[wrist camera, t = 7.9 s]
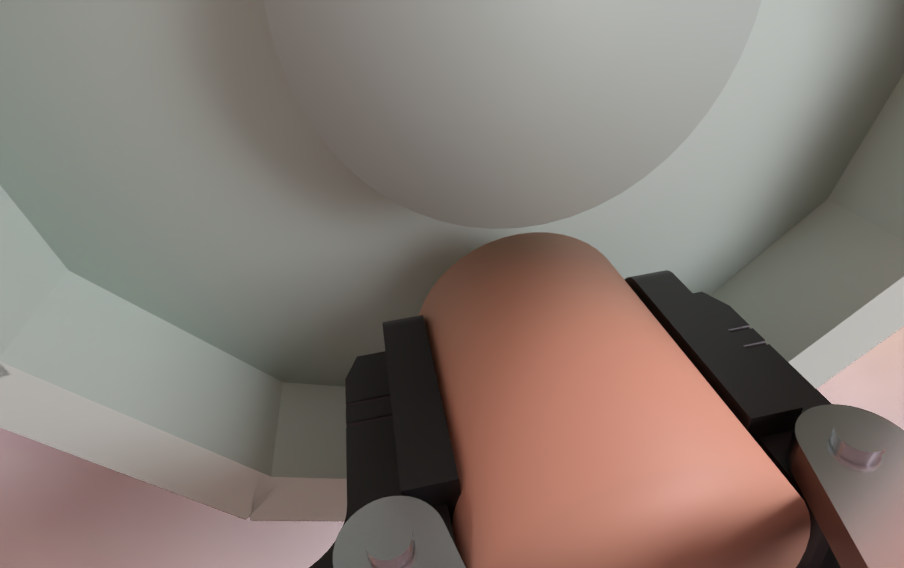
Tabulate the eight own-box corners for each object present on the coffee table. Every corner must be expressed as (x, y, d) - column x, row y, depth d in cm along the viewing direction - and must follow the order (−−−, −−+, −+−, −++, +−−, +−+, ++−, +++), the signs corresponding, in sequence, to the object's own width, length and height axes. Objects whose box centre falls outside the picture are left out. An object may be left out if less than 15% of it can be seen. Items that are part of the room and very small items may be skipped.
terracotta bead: (399, 254, 9) (449, 518, 5) (631, 214, 10) (854, 430, 6) (430, 424, 12) (482, 706, 7) (618, 386, 12) (771, 635, 8)
